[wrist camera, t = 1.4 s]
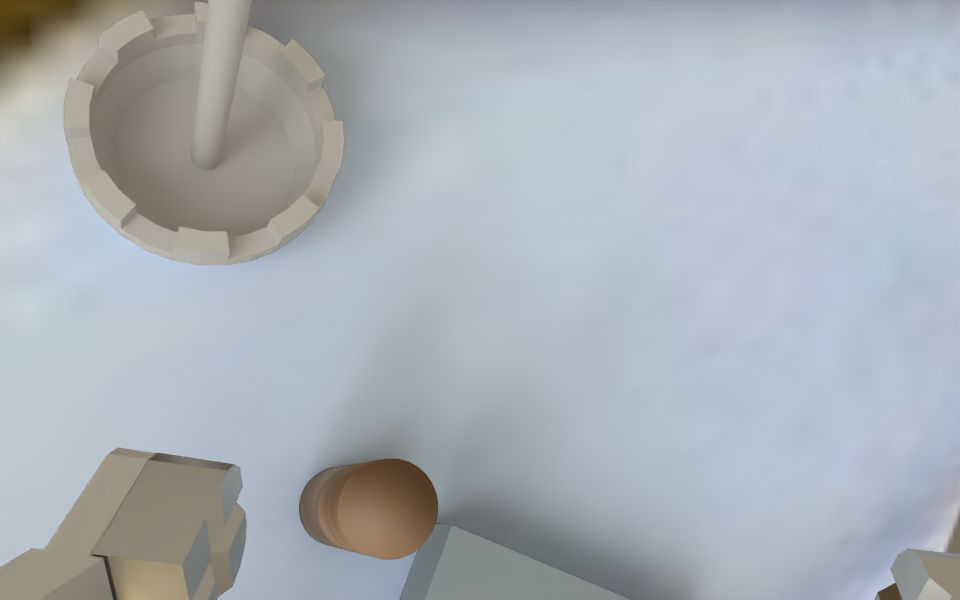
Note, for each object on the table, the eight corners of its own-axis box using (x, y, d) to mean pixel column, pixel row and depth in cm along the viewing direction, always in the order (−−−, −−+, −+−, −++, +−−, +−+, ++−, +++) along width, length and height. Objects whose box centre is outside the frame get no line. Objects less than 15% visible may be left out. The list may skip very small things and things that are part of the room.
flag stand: (357, 242, 48) (627, -96, 21) (119, 311, 43) (62, -21, 15) (280, 35, 49) (440, -546, 22) (39, 77, 44) (-149, -620, 17)
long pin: (356, 557, 44) (416, 574, 34) (286, 529, 43) (327, 538, 33) (385, 484, 46) (451, 480, 36) (318, 455, 45) (366, 443, 35)
